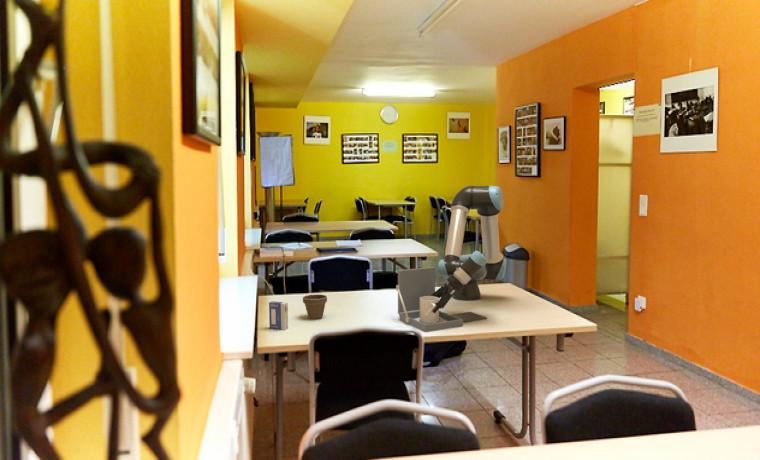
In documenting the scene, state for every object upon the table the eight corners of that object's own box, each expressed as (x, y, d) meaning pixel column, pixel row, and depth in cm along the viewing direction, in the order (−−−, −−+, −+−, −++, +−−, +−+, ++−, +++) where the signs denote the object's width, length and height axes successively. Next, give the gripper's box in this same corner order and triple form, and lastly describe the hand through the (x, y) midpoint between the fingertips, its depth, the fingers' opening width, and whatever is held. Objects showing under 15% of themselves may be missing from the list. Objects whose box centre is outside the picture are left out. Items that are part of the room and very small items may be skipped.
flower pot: (298, 317, 279) (298, 296, 278) (319, 313, 286) (318, 292, 285) (311, 322, 270) (310, 300, 269) (331, 318, 277) (331, 297, 276)
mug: (417, 320, 272) (417, 296, 271) (435, 319, 275) (435, 295, 273) (425, 327, 261) (425, 302, 260) (444, 325, 263) (444, 301, 262)
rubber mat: (444, 316, 279) (444, 315, 279) (470, 312, 286) (470, 311, 286) (460, 323, 267) (460, 321, 267) (487, 318, 274) (487, 317, 274)
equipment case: (396, 319, 274) (396, 270, 271) (433, 314, 283) (433, 267, 281) (423, 332, 253) (423, 279, 250) (462, 326, 262) (463, 275, 260)
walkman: (269, 328, 259) (268, 301, 258) (272, 327, 262) (272, 300, 261) (285, 330, 257) (284, 303, 255) (288, 328, 259) (287, 301, 258)
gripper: (447, 269, 278) (414, 302, 278) (459, 278, 254) (423, 314, 254) (458, 280, 279) (425, 312, 279) (470, 290, 255) (435, 326, 255)
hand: (424, 313), depth 267 cm, fingers closed on mug, 12 cm apart
